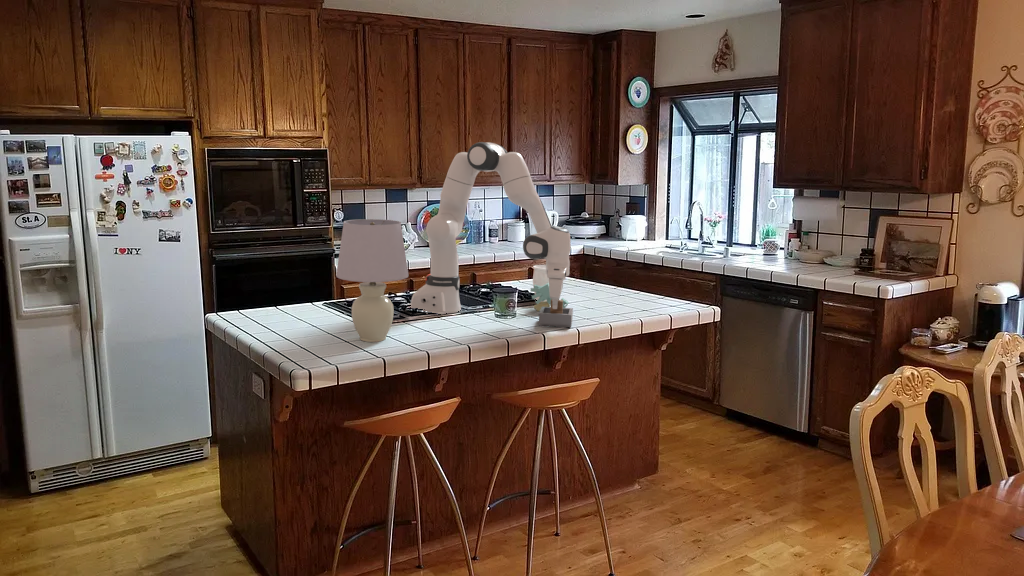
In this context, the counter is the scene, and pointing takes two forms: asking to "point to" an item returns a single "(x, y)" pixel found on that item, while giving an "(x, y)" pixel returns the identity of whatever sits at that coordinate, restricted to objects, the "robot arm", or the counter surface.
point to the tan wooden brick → (559, 308)
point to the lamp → (372, 271)
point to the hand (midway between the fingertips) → (555, 306)
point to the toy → (544, 297)
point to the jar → (540, 277)
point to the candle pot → (555, 317)
